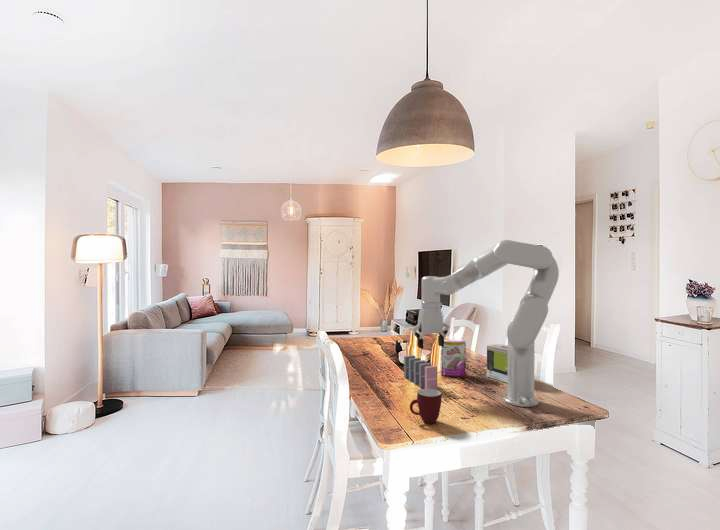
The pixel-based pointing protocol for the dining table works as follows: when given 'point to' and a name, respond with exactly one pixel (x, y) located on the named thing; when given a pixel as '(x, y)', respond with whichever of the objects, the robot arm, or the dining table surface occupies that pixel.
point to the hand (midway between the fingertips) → (430, 347)
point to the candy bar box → (453, 358)
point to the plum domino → (431, 377)
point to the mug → (428, 405)
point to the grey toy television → (497, 362)
